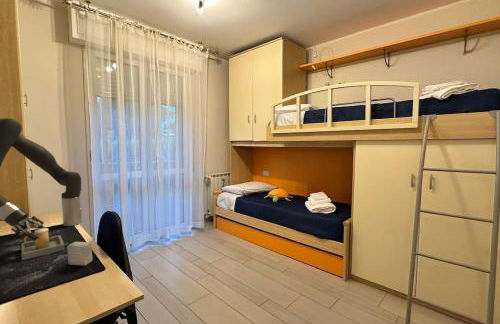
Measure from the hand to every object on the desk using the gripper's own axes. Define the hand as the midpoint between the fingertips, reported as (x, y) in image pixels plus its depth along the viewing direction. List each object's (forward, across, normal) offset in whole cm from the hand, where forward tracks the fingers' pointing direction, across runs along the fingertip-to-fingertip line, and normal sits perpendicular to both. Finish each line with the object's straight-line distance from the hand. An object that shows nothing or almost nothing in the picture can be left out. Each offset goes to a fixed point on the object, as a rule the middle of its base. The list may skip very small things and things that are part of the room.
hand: (42, 235), depth 117 cm
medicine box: (+21, -18, -11) cm, 30 cm away
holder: (-1, +11, +11) cm, 16 cm away
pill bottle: (+4, 0, +4) cm, 6 cm away
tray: (+5, 0, +5) cm, 7 cm away
